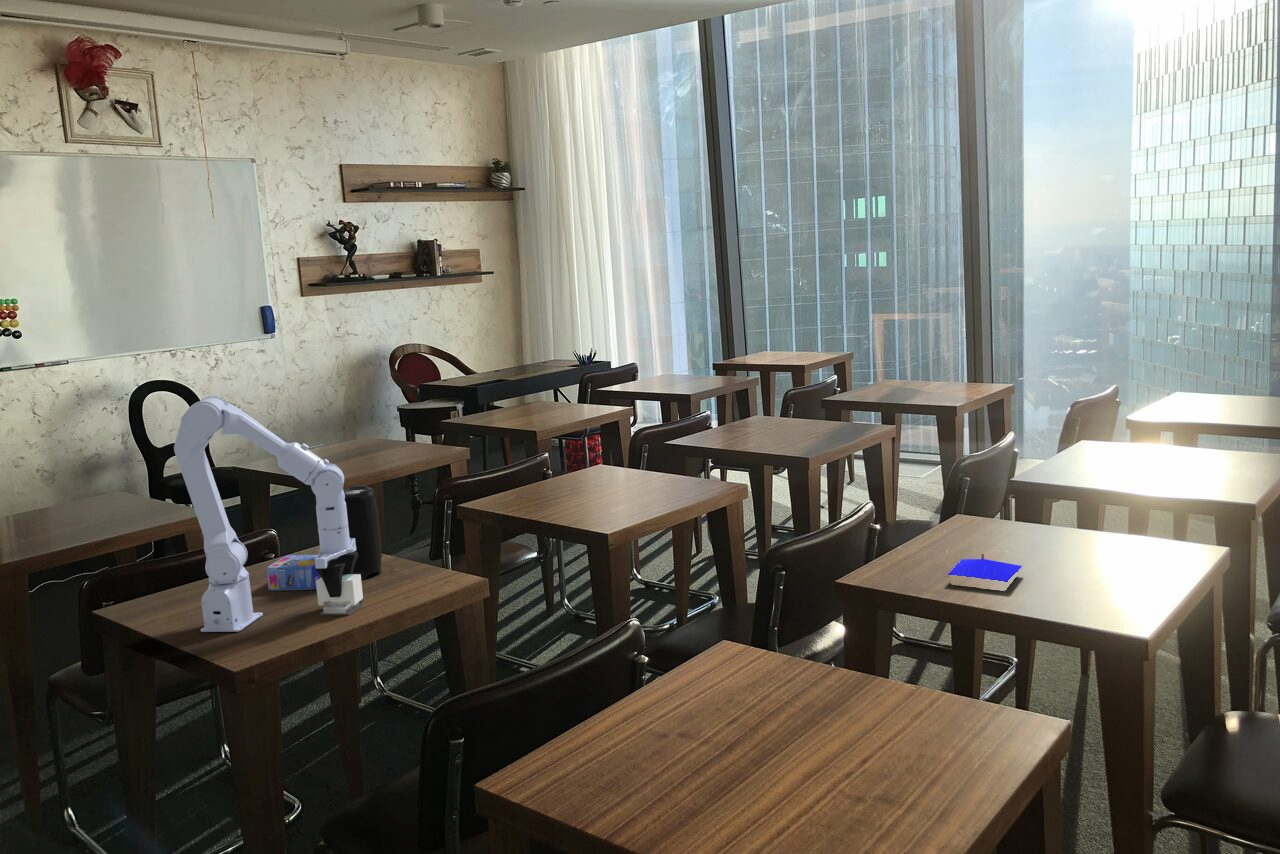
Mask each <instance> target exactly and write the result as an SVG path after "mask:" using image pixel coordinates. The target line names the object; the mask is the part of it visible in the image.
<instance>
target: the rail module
mask: <svg viewBox="0 0 1280 854" xmlns="http://www.w3.org/2000/svg"><path fill="white" fill-rule="evenodd" d="M316 588H317V589H316V595H317V604H318V606H325V605H327V603H328V602H331V601H350V605H356V604H357V603H358V602H359V601H362V600H363V599H364V594H363V584H362V579H361V574H342V592H341V596H340V597H330V596H329V594H328V591H327V589H326V586H325V584H324V581H323V579H322V578H320V579H318V580H317V581H316Z"/></svg>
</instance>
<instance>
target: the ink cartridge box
mask: <svg viewBox="0 0 1280 854" xmlns="http://www.w3.org/2000/svg"><path fill="white" fill-rule="evenodd" d="M317 556H318V554H293V555H292V554H291V555H290V554H289V555H288V554H287V555H284V556H283V557H281V558H280V559H278V560H277V561H275V562H273V563H271V564H270V565H269V566H267V567H266V576H267V584H268V585H267V589H268V591H269V592H270V591H271V592H272V591H301V590H302V591H303V590H306V591H307V590H317V588H316V581H317V580H318V579H320V578H321V576H320V575H319V573H318V572H317V571H316V570H315V558H317Z"/></svg>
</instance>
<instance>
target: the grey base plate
mask: <svg viewBox="0 0 1280 854" xmlns="http://www.w3.org/2000/svg"><path fill="white" fill-rule="evenodd" d="M363 604H364V601H362V600H360V601H359V602H358V603H357V604H356V605H350V601H329V603H328V604H327V603H326V604H325V605H324V606H323V607H322V609H323V611H321V612H320V613H319V616H320V617H321V616H350V615H351V614H353V613H354V611H356V610H357V609H358V608H359V607H360V606H362V605H363Z"/></svg>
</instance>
